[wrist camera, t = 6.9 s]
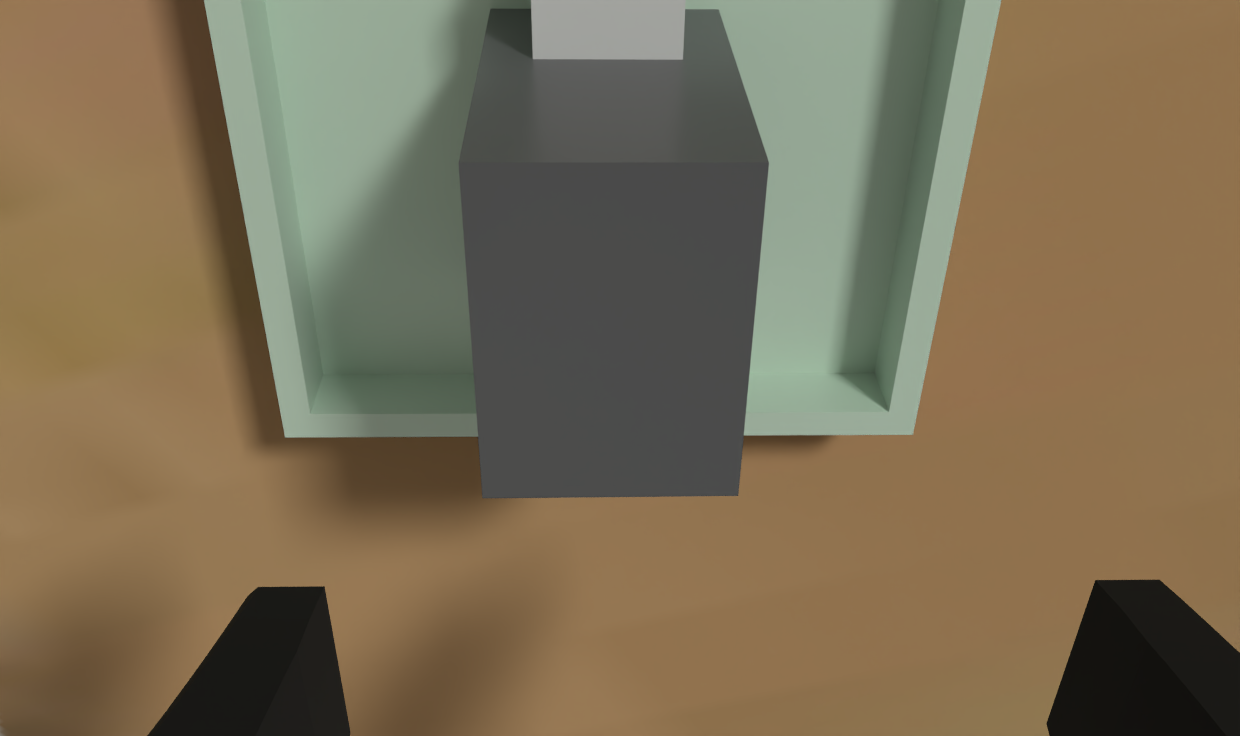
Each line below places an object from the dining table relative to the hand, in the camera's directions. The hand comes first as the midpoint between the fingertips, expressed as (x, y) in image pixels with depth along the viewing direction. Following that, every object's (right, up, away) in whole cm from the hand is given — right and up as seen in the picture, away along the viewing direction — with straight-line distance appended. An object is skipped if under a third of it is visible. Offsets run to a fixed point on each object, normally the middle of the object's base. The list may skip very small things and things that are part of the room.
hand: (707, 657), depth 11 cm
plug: (-1, +6, +7) cm, 10 cm away
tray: (-1, +7, +8) cm, 10 cm away
